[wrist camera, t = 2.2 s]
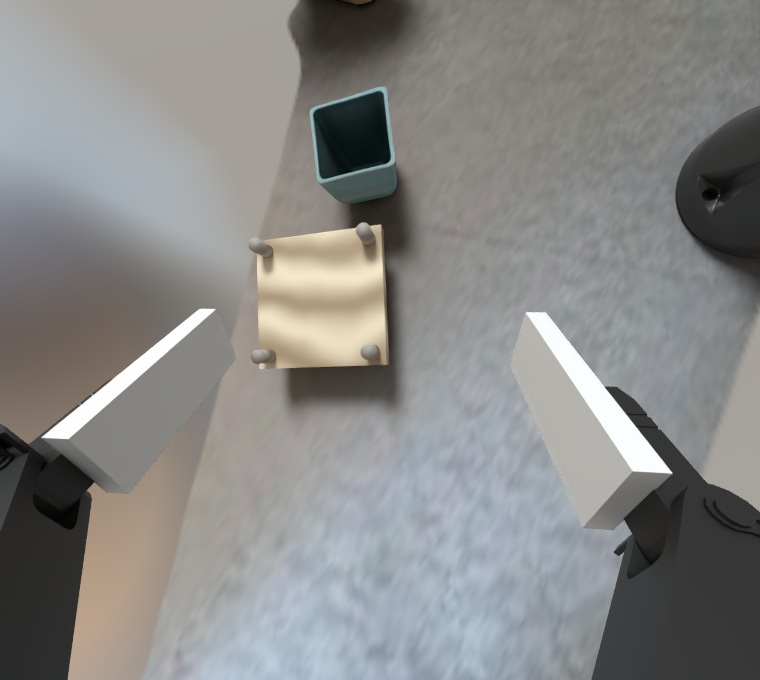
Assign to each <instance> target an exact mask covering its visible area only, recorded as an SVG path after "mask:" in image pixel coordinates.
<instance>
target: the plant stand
mask: <svg viewBox="0 0 760 680" xmlns="http://www.w3.org/2000/svg"><path fill="white" fill-rule="evenodd" d="M249 248H250V250H252V251H253V252H255V253H257V277H258V319H259V350H255V351H253V352H252V355H251V359H252V361H253V362H254V363H256V364H260V369H269V368H301V367H333V366H365V365H388V364H389V347H388V324H387V300H386V277H385V253H384V230H383V228H382V226H381V225H374V226H369V225H368V224H367V223H360V224H359V225H358V226H357V227H356V228H352V229H344V230H337V231H330V232H322V233H315V234H307V235H300V236H293V237H285V238H278V239H271V240H263V241H261V240H260V239H258V238H253V239H251V240H250V242H249Z"/></svg>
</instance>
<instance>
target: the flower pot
mask: <svg viewBox="0 0 760 680" xmlns="http://www.w3.org/2000/svg"><path fill="white" fill-rule="evenodd" d="M310 121H311V130H312V137H313V146H314V155H315V165H316V177H317V181H318V183H319V184H320V185H321V186H322V187H323V188H324V189H325V190H327V191H328V192H329V193H330V194H331V195H332V196H333V197H334V198H335V199H337V200H338V201H340V202H343V203H349V204H351V203H359V202H364V201H368V200H372V199H377V198H381V197H386V196H388V195H390V194H392V193H393V192H394V191H395V189H396V185H397V175H396V162H395V153H394V146H393V138H392V130H391V122H390V114H389V105H388V95H387V89H386V88H385V87H378V88H374V89H371V90H368V91H365V92H362V93H359V94H356V95H353V96H350V97H347V98H344V99H340V100H337V101H332V102H330V103H326V104H322V105H319V106H316V107H314V108H312V109H311V110H310Z"/></svg>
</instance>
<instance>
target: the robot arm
mask: <svg viewBox="0 0 760 680" xmlns="http://www.w3.org/2000/svg"><path fill="white" fill-rule="evenodd" d="M676 196H677V204H678V208H679V211H680V214H681V216H682V218H683V220H684V222H685V223H686V225H687V226H688V228H689V229H690V230H691V231H692V232H693V233H694V234H695V235H696V236H697V237H698V238H699V239H700V240H702V241H703V242H705V243H706V244H708V245H709V246H711V247H713V248H715V249H717V250H720V251H722V252H725V253H728V254H731V255H735V256H740V257H748V258H760V106H757V107H755V108H753V109H751V110H748V111H746V112H744V113H742V114H740V115H739V116H737V117H735V118H734V119H732V120H730V121H729V122H727V123H726V124H725V125H723V126H722V127H721V128H719V129H718V130H717V131H716V132H714V133H713V134H712V135H710V136H709V137H708V138H707V139H705V140H704V141H703V142H702V143H701V144H700V145H699V146H698V147H697V148H696V149H695V150H694V151H693V152H692V153H691V154H690V156H689V157H688V159H687V160H686V162H685V164H684V165H683V167H682V170H681V172H680V175H679V178H678V182H677V191H676ZM236 358H237V357H236V355H235V353H234V350H233V348H232V346H231V343H230V341H229V338H228V336H227V334H226V331H225V329H224V327H223V324H222V322H221V320H220V317H219V315H218V313H217V310H216V309H199V310H198V311H197V312H196V313H194V314H193V315H192V316H191V317H189V318H188V319H187V320H186V321H184V322H183V323H182V324H181V325H179V326H178V327H177V328H176V329H174V330H173V331H172V332H171V333H169V334H168V335H167V336H166V337H165V338H163V339H162V340H161V341H160V342H158V343H157V344H156V345H155V346H154V347H152V348H151V349H150V350H148V351H147V352H146V353H145V354H144V355H143V356H141V357H140V358H139V359H138V360H136V361H135V362H134V363H132V364H131V365H130V366H129V367H128V368H126V369H125V370H124V371H123V372H121V373H120V374H119V375H118V376H116V377H115V378H113V379H111V380H109V381H107V382H106V383H105V384H104V385H102V386H101V387H100V388H99V389H97V390H96V391H95V392H94V393H93V395H90V396H89V397H87V398H86V399H85V400H84V401H82V402H81V405H78V406H76V407H75V408H74V409H72V410H71V411H70V412H69V413H67V414H66V415H65V416H64V417H63V418H61V419H60V420H59V421H58V422H56V423H55V424H54V425H52V426H51V427H50V428H49V429H48V430H46V431H45V432H44V433H43V434H41V435H40V436H39V437H38V438H36V439H35V440H34V441H32V442H31V443H30V444H27V443H25V442H24V441H23V440H22V439H20V438H19V437H18V436H16V435H15V434H14V433H13V432H11V431H10V430H9V429H8V428H6V427H5V426H3V425H1V424H0V680H67V679H68V672H69V663H70V657H71V649H72V642H73V635H74V627H75V619H76V612H77V604H78V597H79V590H80V583H81V575H82V568H83V561H84V553H85V546H86V538H87V531H88V524H89V516H90V509H91V501H92V498H91V494H90V493H89V492H87V489H88V488H89V487H90V486H91V485H92V484H93V483H94V482H95V483H96V484H97V485H98V486H99V487H101V488H102V489H103V490H104V491H106V492H108V493H122V494H130V492H131V491H132V490H133V488H134V487H135V486H136V485H137V483H138V482H139V481H140V480H141V478H142V477H143V476H144V475H145V473H146V472H147V471H148V469H149V468H150V467H151V466H152V464H153V463H154V462H155V461H156V459H157V458H158V457H159V456H160V454H161V453H162V452H163V450H164V449H165V448H166V447H167V445H168V444H169V443H170V441H171V440H172V439H173V438H174V437H175V435H176V434H177V433H178V431H179V430H180V429H181V428H182V426H183V425H184V424H185V422H186V421H187V420H188V419H189V417H190V416H191V415H192V414H193V412H194V411H195V410H196V409H197V407H198V406H199V405H200V403H201V402H202V401H203V400H204V398H205V397H206V396H207V395H208V393H209V392H210V391H211V390H212V388H213V387H214V386H215V385H216V383H217V382H218V381H219V379H220V378H221V377H222V376H223V374H224V373H225V372H226V371H227V369H228V368H229V367H230V366H231V364H232V363H233V362H234V360H235V359H236ZM510 367H511V369H512V371H513V373H514V376H515V378H516V380H517V382H518V385H519V387H520V389H521V391H522V394H523V396H524V398H525V400H526V403H527V405H528V407H529V409H530V412H531V414H532V416H533V418H534V421H535V423H536V425H537V427H538V429H539V432H540V434H541V436H542V438H543V441H544V443H545V445H546V447H547V450H548V452H549V454H550V456H551V459H552V461H553V463H554V465H555V468H556V470H557V472H558V474H559V477H560V479H561V481H562V483H563V485H564V488H565V490H566V492H567V494H568V497H569V499H570V501H571V503H572V506H573V508H574V510H575V512H576V515H577V517H578V519H579V521H580V524H581V526H582V528H592V529H605V530H614V529H615V528H616V527H617V526H618V525H619V524H620V523H621V522H622V521H623V520H625V522H626V524H627V525H628V527H629V529H630V531H631V532H632V535H631V536H629V537H628V538H627V539H626V540H625V541H624V542H622V543H621V544H620V545H619V546H618V547H617V548H616V550H615V551H614V553H615V554H617V555H618V556H619V555H621V554H622V553H623V552H624V555H623V559H622V563H621V567H620V571H619V575H618V579H617V583H616V586H615V590H614V594H613V598H612V602H611V606H610V610H609V614H608V618H607V621H606V625H605V629H604V633H603V637H602V641H601V645H600V649H599V653H598V656H597V660H596V664H595V668H594V672H593V676H592V680H760V512H759V511H758V510H756V509H755V508H754V507H753V506H752V505H751V504H749V503H748V502H747V501H745V500H743V499H742V498H740V497H738V496H737V495H735V494H733V493H732V492H730V491H728V490H725V489H723V488H720V487H717V486H715V485H712V484H708V483H707V482H706V481H705V480H704V479H703V478H702V477H701V476H700V475H699V474H698V472H697V471H696V470H695V469H694V468H693V467H692V465H691V464H690V463H689V462H688V461H687V460H686V458H685V457H684V456H683V455H682V454H681V453H680V452H679V450H678V449H677V448H676V447H675V446H674V445H673V443H672V442H671V441H670V440H669V439H668V438H667V437H666V435H665V434H664V433H663V432H662V431H661V430H658V426H657V425H656V424H655V423H654V422H653V420H652V419H651V418H650V417H647V413H646V412H645V411H644V410H643V409H642V408H641V407H640V405H639V404H638V403H637V402H636V401H635V400H634V399H633V398H632V397H630V396H629V395H627V394H626V393H624V392H623V391H622V390H620V389H619V388H617V387H604V386H603V385H602V383H601V382H600V381H599V379H598V378H597V377H596V376H595V374H594V373H593V372H592V371H591V369H590V368H589V367H588V366H587V364H586V363H585V362H584V360H583V359H582V358H581V357H580V355H579V354H578V353H577V352H576V350H575V349H574V348H573V347H572V345H571V344H570V343H569V341H568V340H567V339H566V338H565V336H564V335H563V334H562V333H561V331H560V330H559V329H558V327H557V326H556V325H555V324H554V322H553V321H552V320H551V319H550V317H549V316H548V315H547V314H546V313H539V312H526V313H525V316H524V320H523V323H522V326H521V329H520V333H519V336H518V339H517V343H516V346H515V349H514V352H513V356H512V359H511V362H510Z"/></svg>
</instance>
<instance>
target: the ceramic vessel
mask: <svg viewBox="0 0 760 680" xmlns="http://www.w3.org/2000/svg"><path fill="white" fill-rule="evenodd" d="M342 1H346V2H350V3H353V4H363V3H368V2H370V1H372V0H342Z"/></svg>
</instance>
